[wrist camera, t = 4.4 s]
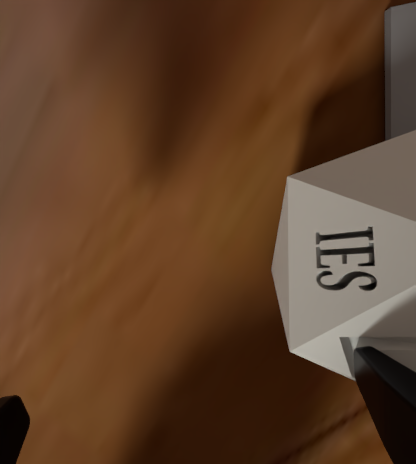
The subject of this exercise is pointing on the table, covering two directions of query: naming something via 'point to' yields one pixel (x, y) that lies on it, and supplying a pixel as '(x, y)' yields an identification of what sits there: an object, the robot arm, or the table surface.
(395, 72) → the mat
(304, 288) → the grey faceted block
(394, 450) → the robot arm
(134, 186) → the table surface
